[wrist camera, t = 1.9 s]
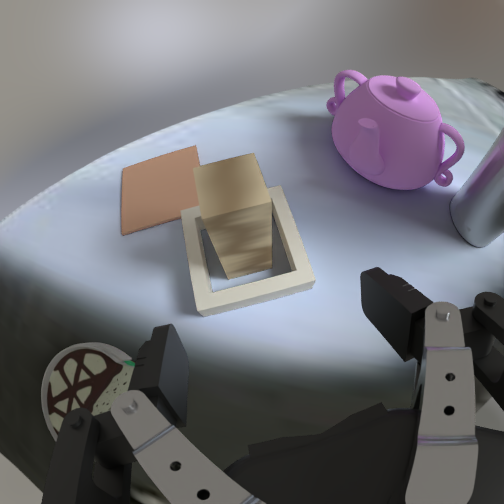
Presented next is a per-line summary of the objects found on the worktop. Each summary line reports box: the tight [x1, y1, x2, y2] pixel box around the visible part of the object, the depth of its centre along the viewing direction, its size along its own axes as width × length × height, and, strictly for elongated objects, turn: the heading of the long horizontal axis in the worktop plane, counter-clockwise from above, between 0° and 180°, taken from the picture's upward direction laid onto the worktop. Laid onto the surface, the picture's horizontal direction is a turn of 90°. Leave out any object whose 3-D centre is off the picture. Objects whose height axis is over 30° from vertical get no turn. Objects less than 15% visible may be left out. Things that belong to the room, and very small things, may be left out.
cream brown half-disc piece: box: [41, 342, 135, 441], centre depth 22 cm, size 12×6×10 cm, turn 146°
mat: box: [121, 145, 200, 235], centre depth 37 cm, size 12×12×1 cm
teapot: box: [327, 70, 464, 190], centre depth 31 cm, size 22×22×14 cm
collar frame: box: [181, 185, 316, 317], centre depth 31 cm, size 12×12×3 cm
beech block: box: [193, 153, 272, 280], centre depth 26 cm, size 5×5×13 cm
